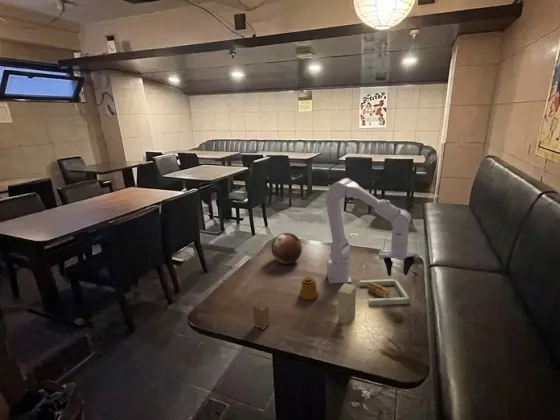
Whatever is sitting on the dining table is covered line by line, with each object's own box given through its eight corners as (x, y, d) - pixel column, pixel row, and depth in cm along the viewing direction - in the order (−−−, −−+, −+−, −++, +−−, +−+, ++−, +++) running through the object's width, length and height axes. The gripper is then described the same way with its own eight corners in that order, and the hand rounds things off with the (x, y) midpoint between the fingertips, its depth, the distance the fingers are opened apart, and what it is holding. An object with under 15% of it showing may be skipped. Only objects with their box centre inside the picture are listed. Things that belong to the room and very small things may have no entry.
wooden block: (261, 320, 109) (260, 301, 107) (270, 324, 107) (268, 305, 104) (254, 326, 106) (252, 306, 104) (262, 330, 104) (261, 310, 101)
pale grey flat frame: (369, 305, 114) (369, 300, 114) (359, 284, 128) (359, 280, 127) (409, 303, 114) (410, 298, 113) (395, 283, 128) (396, 279, 127)
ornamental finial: (321, 298, 120) (303, 302, 118) (314, 289, 127) (297, 292, 125) (321, 281, 117) (302, 284, 116) (313, 272, 124) (296, 275, 122)
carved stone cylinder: (366, 291, 123) (367, 282, 122) (373, 287, 126) (374, 279, 124) (383, 300, 117) (384, 291, 116) (390, 296, 119) (391, 288, 118)
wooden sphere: (266, 264, 149) (264, 236, 145) (283, 252, 161) (282, 226, 156) (291, 272, 141) (290, 242, 136) (307, 259, 153) (307, 231, 148)
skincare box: (349, 325, 104) (350, 294, 101) (337, 321, 106) (337, 291, 103) (355, 315, 109) (356, 285, 106) (343, 311, 112) (344, 282, 108)
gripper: (383, 247, 111) (381, 280, 115) (423, 245, 110) (420, 278, 114) (377, 240, 117) (376, 271, 121) (415, 238, 117) (412, 269, 121)
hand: (397, 274), depth 118 cm, fingers open, 6 cm apart
